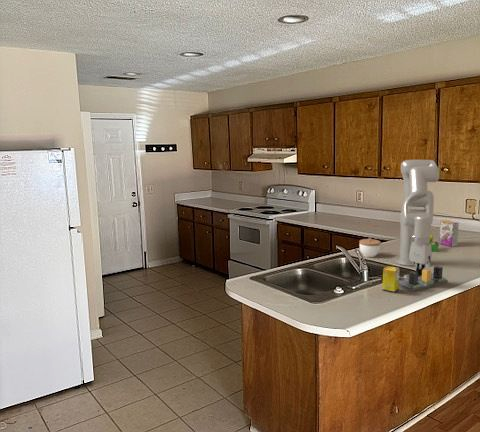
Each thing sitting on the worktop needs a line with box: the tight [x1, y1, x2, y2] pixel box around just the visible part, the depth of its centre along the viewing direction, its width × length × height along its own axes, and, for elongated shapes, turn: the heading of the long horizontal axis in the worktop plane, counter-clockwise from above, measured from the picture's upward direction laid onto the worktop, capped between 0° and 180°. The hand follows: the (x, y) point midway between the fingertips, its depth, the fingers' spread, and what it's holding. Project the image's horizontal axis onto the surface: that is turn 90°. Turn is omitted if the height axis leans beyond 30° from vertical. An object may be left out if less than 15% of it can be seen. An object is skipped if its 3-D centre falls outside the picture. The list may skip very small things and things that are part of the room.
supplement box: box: [382, 265, 400, 294], centre depth 212 cm, size 6×6×11 cm
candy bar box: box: [438, 219, 460, 248], centre depth 296 cm, size 11×5×16 cm, turn 22°
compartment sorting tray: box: [399, 265, 449, 293], centre depth 222 cm, size 26×14×8 cm, turn 119°
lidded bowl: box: [358, 237, 381, 258], centre depth 272 cm, size 13×13×11 cm
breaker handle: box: [422, 268, 432, 282], centre depth 218 cm, size 3×3×6 cm
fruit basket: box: [430, 233, 440, 253], centre depth 284 cm, size 11×9×11 cm
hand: (419, 275), depth 221 cm, fingers closed
